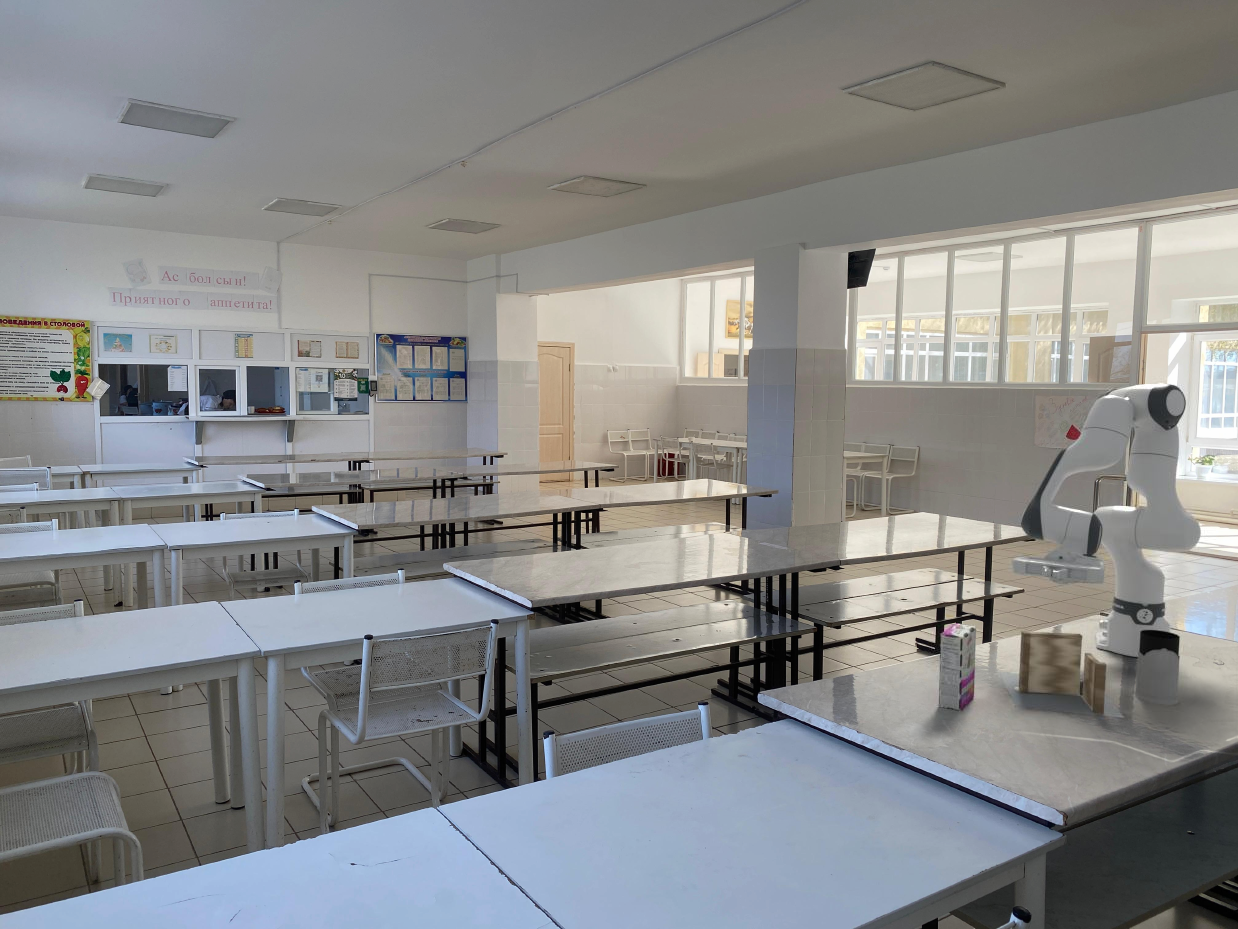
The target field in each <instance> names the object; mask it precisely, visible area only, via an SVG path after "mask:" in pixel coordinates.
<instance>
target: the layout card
mask: <svg viewBox="0 0 1238 929" xmlns="http://www.w3.org/2000/svg"><path fill="white" fill-rule="evenodd" d="M999 674H1000V676H1001V678H1002V680H1003V683H1004V685H1005V687H1006V689H1007V692H1008V693H1009V696H1010V699H1011V701H1012V703H1013V705H1014V707H1016V708H1025V709H1034V710H1042V711H1051V712H1052V711H1053V712H1063V713H1069V714H1070V713H1071V714H1080V715H1091V716H1099V717H1107V718H1108V717H1110V718H1118V719H1119V718H1120V719H1125V717H1124V716H1123V714H1122V713H1121V712H1120V711H1119V709H1118V708H1117V707H1116V706H1115V705H1114V703H1113V702H1112V700H1111V699H1110V698H1109V697H1108V695H1107V694H1106V693H1105V699H1104V714H1097V713H1094V712H1093V711H1092V710H1093V708H1092V707H1091V706H1090V705H1089V704H1088V702H1087V701H1086V700H1085V699H1084V698H1083V696H1082V695H1080V685H1079V695H1078V694H1059V693H1040V692H1021V691H1020V690H1019V673H1014V672H1013V673H1012V672H1003V671H999ZM1080 681H1083V679H1080Z"/></svg>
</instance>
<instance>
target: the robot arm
mask: <svg viewBox="0 0 1238 929" xmlns="http://www.w3.org/2000/svg"><path fill="white" fill-rule="evenodd" d="M1186 401H1187V400H1186V395H1185V393H1184V392H1183V390H1181V388H1180V387H1178V386H1177V385H1174V384H1171V383H1157V384H1151V383H1150V384H1135V385H1133V386H1127V387H1122V388H1113V389H1110V390H1107V391H1104V392H1103V393H1101V394H1100V395H1099V397H1098V398H1097V400H1096V401H1095V402H1094V403H1093V405H1092V407H1091V409H1090V411H1089V412H1088V415H1087V416H1086V418H1085V420H1084V423H1083V426H1082V429H1081V432H1080V435H1079V437H1077V439H1076V441H1075V442H1073V443H1072V444H1071V445H1070V446H1066V447H1062V449H1061V450H1060V451H1059V452H1058V454H1057V455H1056V457H1054V458H1055V459H1054V460H1053V462H1052V463H1051V465H1050V467H1049V469H1048V471H1047V472H1046V474H1045V476H1044V478H1043V480H1042V481H1041V483H1040V485H1039V487H1038V489H1037V491H1036V492H1035V494H1034V495H1033V497H1032V499H1031V501H1030V502H1029V503H1028V505H1027V507H1026V508H1025V509H1024V511H1023V513H1022V516H1021V520H1020V528H1021V529H1022V530H1023V532H1024V533H1025V535H1026V536H1027V537H1029V539H1033V540H1039V541H1046V542H1051V543H1054V544H1059V545H1058V546H1056V547H1055V548H1054V549H1052V550H1051V551H1050V552H1047V554H1046V555H1045V556H1044V557H1043V558H1042V557H1035V556H1018V557H1017V556H1016V557H1015V558H1013V559H1012V562H1011V572H1012V573H1014V574H1016V575H1024V576H1033V577H1039V578H1040V577H1042V578H1048V579H1049V580H1050V581H1051V582H1052V583H1055V584H1058V585H1069V584H1080V583H1081V584H1099V585H1101V584H1104V583H1105V563H1104V562H1103V559H1102V557H1100V556H1096V555H1095V554H1096V553H1097V552H1098V550H1099V548H1100V544H1101V545H1102V546H1103V547H1104V549H1105V550H1106V552H1107V553H1108V554H1109V556H1110V559H1111V560H1112V562H1113V565H1114V570H1115V594H1114V596H1113V600H1112V606H1111V612H1110V613H1109V614H1108V615H1107V616H1106V618H1105V620H1100V621H1099V629H1100V630H1104V631H1102V632H1101V631H1100V632H1096V633H1095V642H1096V648H1097V649H1101V650H1105V651H1110V652H1113V653H1116V654H1119V655H1123V656H1128V657H1135V658H1138V652H1139V646H1140V631H1142V630H1159V631H1166V632H1170V633H1171V624H1170V622H1168V621H1167V619H1166V618H1164V616H1165V615H1166V609H1167V608H1166V602H1165V601H1164V600H1165V599H1164V597H1165V583H1166V582H1165V581H1166V580H1165V579H1166V576H1165V574H1164V572H1163V570H1162V569H1161V568H1160V567H1158V566H1157V565H1156V564H1155V563H1152V562H1151V561H1149V560H1148V559H1147V558H1146V557H1145V555H1144V553H1143V550H1148V551H1149V550H1150V551H1157V552H1158V551H1159V552H1165V553H1177V552H1178V553H1181V552H1189V551H1191V550H1193V549H1194V548H1195V547H1196V546H1197V544H1198V543H1199V541H1200V539H1201V534H1202V533H1201V532H1202V531H1201V526H1200V523H1199V522H1198V520H1197V518H1195V516H1193V515H1192V514H1191V513H1190V512H1188V511H1187V509H1186V508H1185V507H1184V506H1183V505H1182V503H1181V501H1180V499H1179V497H1178V493H1177V488H1176V481H1177V480H1176V479H1177V470H1178V461H1179V454H1180V451H1179V450H1180V435H1179V427H1178V424H1179V423H1180V420H1181V419H1182V417H1183V416H1184V413H1185V410H1186V406H1187V402H1186ZM1133 429H1134V436H1133V438H1132V439H1133V440H1132V444H1131V447H1130V453H1129V459H1128V465H1127V473H1126V478H1125V479H1126V483H1127V486H1128V487H1129V488H1130V489H1131V490H1132V491H1134V492H1135V493H1137V494H1138V495H1139V496H1142V497H1144V498H1145V499H1146V507H1138V506H1136V507H1135V506H1125V505H1108V506H1100V507H1098V508H1097V509H1096V510H1095V511H1094V512H1089V511H1084V510H1081V509H1076V508H1072V507H1071V508H1070V507H1066V506H1062V505H1058V504H1054V503H1052V502H1053V500H1054V499H1055V497H1056V495H1057V494H1058V491H1059V490H1060V487H1061V486H1062V484H1063V482H1064V481H1065V480H1066V478H1067V477H1069V476H1071V475H1074V474H1077V473H1084V472H1091V471H1092V472H1093V471H1100V470H1105V469H1108V468H1111V467H1112V466H1114V465H1116V464H1117V463H1119V462H1121V460H1122V459H1123V456H1124V455H1125V453H1126V450H1127V448H1128V445H1129V441H1130V437H1131V435H1132V434H1131V433H1132V430H1133Z"/></svg>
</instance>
